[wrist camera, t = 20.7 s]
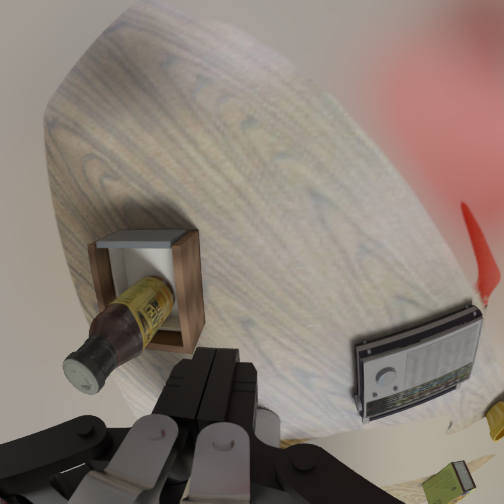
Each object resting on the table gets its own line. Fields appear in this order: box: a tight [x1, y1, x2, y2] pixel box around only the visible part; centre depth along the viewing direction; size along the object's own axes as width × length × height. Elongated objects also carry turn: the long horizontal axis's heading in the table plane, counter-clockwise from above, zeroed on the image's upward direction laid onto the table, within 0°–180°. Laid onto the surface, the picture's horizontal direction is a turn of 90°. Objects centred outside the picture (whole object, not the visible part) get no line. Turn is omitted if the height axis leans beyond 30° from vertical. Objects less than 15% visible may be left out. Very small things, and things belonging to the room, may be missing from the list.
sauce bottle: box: [63, 275, 175, 395], centre depth 28 cm, size 7×6×20 cm
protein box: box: [422, 461, 476, 504], centre depth 49 cm, size 10×15×16 cm
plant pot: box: [486, 401, 504, 442], centre depth 41 cm, size 10×10×10 cm
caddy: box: [87, 230, 205, 354], centre depth 35 cm, size 14×13×8 cm
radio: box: [355, 305, 483, 424], centre depth 39 cm, size 24×5×20 cm
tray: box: [96, 229, 187, 332], centre depth 35 cm, size 13×10×6 cm
